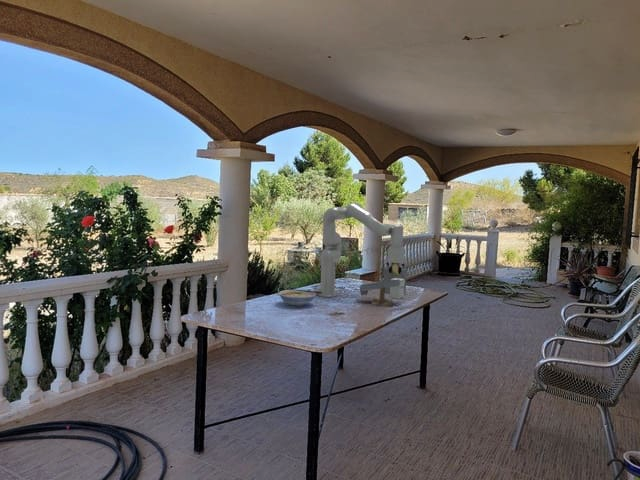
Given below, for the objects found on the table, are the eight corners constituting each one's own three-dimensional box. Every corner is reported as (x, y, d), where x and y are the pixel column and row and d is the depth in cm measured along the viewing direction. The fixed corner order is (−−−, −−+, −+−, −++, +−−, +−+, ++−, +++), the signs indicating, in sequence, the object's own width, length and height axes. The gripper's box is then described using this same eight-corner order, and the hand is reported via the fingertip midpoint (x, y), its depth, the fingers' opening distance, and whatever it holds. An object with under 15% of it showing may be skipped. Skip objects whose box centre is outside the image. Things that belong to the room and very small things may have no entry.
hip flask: (405, 293, 326) (407, 265, 324) (404, 294, 322) (406, 266, 321) (383, 291, 332) (384, 264, 330) (382, 292, 328) (383, 264, 326)
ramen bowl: (269, 305, 275) (269, 292, 275) (289, 299, 295) (289, 286, 295) (305, 311, 264) (306, 297, 263) (324, 304, 284) (324, 291, 283)
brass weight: (390, 274, 288) (391, 263, 287) (391, 273, 293) (391, 262, 292) (398, 275, 287) (399, 263, 287) (399, 273, 292) (399, 262, 292)
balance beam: (360, 295, 290) (359, 287, 289) (362, 292, 299) (360, 284, 299) (400, 289, 285) (399, 281, 285) (400, 287, 295) (399, 279, 295)
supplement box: (399, 299, 307) (399, 280, 306) (389, 297, 311) (389, 278, 310) (404, 297, 312) (405, 279, 311) (394, 296, 317) (395, 277, 316)
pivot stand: (371, 305, 285) (372, 287, 284) (373, 299, 303) (373, 282, 302) (391, 306, 283) (392, 288, 282) (391, 300, 300) (392, 283, 300)
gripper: (382, 244, 286) (381, 273, 288) (410, 245, 283) (408, 275, 285) (382, 243, 294) (381, 271, 295) (410, 244, 291) (408, 273, 292)
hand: (395, 273), depth 290 cm, fingers closed on brass weight, 5 cm apart
